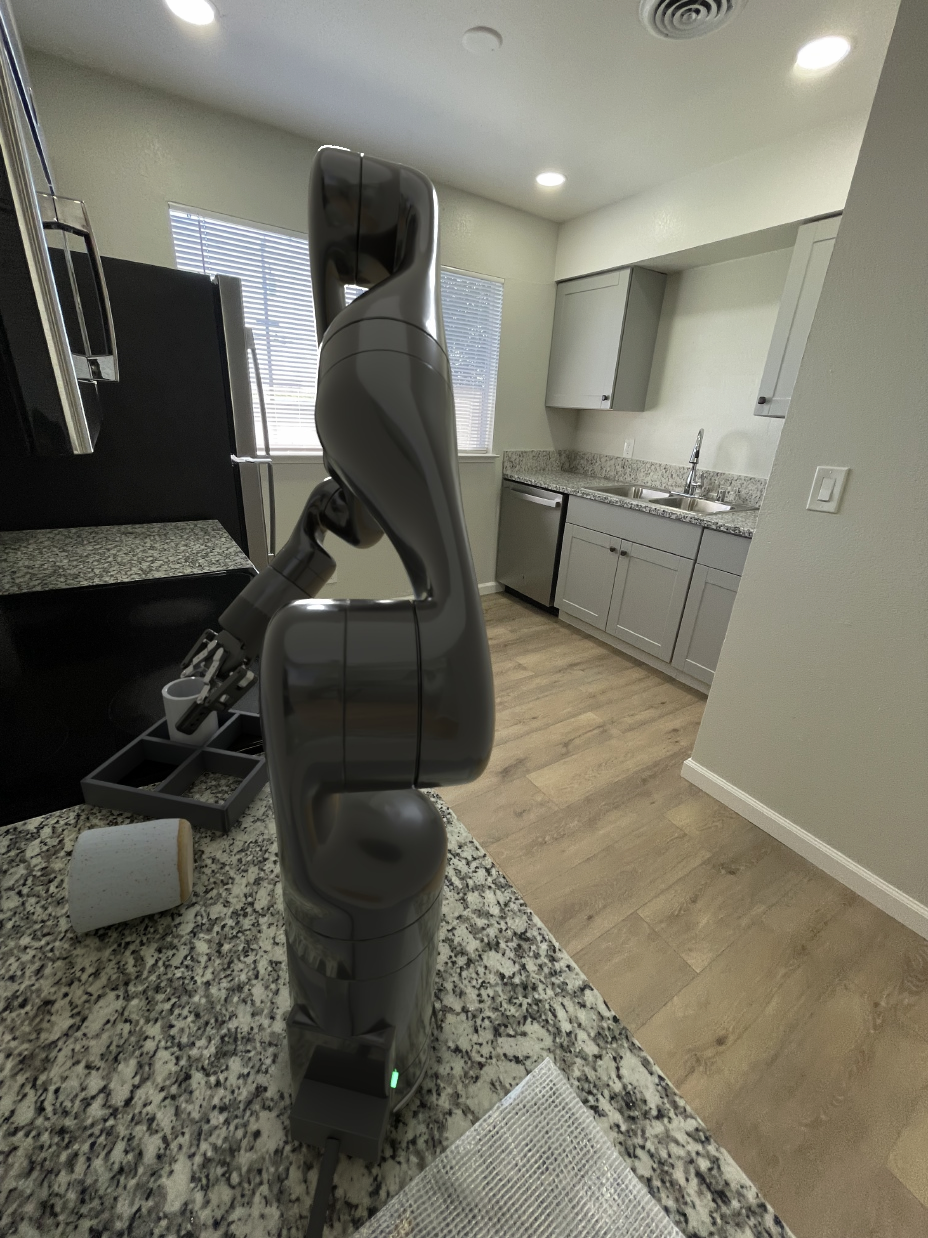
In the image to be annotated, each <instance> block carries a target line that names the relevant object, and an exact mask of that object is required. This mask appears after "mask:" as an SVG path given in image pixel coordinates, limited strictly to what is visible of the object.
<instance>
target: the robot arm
mask: <svg viewBox="0 0 928 1238" xmlns="http://www.w3.org/2000/svg"><path fill="white" fill-rule="evenodd" d="M311 162H312V163H311V166H310V172H309V178H308V186H307V201H306V202H307V203H306V204H307V206H306V211H307V212H306V215H307V216H306V218H307V219H306V223H307V224H306V226H307V227H306V228H307V230H306V231H307V247H308V259H309V260H308V261H309V273H310V274H309V275H310V282H311V284H310V286H311V295H312V307H313V318H314V328H315V338H316V347H317V348H316V349H317V355H318V356H317V365H316V367H317V368H316V380H315V395H314V396H315V397H314V411H313V412H314V414H313V416H314V417H313V419H314V425H315V426H314V427H315V431H316V435H317V439H318V442H319V444H320V446H321V448H322V463H323V467H324V470H325V471H326V473H327V474H328V476H329V477H327V478H325V479H323V480H322V481H320V482H318V484H316V486H315V487H314V488H313V489H312V491H311V492H310V494H309V496H308V498H307V499H306V502H305V505H304V506H303V509H302V511H301V514H300V516H299V518H298V520H297V522H296V525H295V526H294V528H293V530H292V532H291V534H290V536H289V537H288V540H287V542H286V543H285V544H284V545H283V546H282V547H281V548H280V550H278V552H277V553H276V554H275V555H274V556H273V558H272V559H271V560H270V561H269V563H268V564H267V565H265V567H264V568H263V569H262V570H261V571H259V572H258V573H257V574H256V575H255V576H254V577H252V579H251V580H250V581H249V583H248V584H247V585H246V586H245V587H244V588H243V590H242V591H241V592H240V593H239V594H238V595H237V596H236V598H235V599H234V600H233V601H232V602H231V603H230V605H229V606H228V607H227V608H226V609H225V610H224V612H223V613H222V614H221V615H220V616H219V617H218V620H217V621H218V624H219V626H220V627H221V628H222V631H220V632H219V633H216V632H215V631H213V630H212V629H210V628H206V629H205V630H204V631H203V633H202V635H200V636H199V638H198V639H197V641H196V643H194V645H193V647H192V648H191V649H190V651H189V652H188V654H187V655H186V656H185V658H184V659H183V660H182V662H181V663H180V666H179V668H180V669H181V670H183V671H182V672H181V674H180V676H179V677H180V679H182V678H187V677H203V678H204V679H203V683H204V687H203V689H202V691H201V693H200V695H199V696H198V698H197V701H194V702H193V703H192V705H191V706H190V707H189V708H188V709H187V711H186V712H185V713H184V714H183V715H182V717H181V718H180V719H179V720H178V721H177V723H176V724H175V728H176V730H177V731H179V732H181V733H184V734H186V735H192V734H193V733H194V732H195V731H196V730H197V729H198V727H199V726H200V725H201V724H202V723H203V721H204V720H205V719H206V718H207V717H208V715H209V714H210V713H211V712H213V711H217V712H219V713H221V714H225V713H227V712H228V711H229V710H230V709H231V710H232V708H233V707H234V706H235V705H236V704H237V703H238V702H239V701H240V700H241V699H242V698H243V697H244V696H245V695H246V694H247V693H248V692H249V691H250V690H251V689H252V688H253V687H254V686H255V685H256V684H257V706H258V714H259V717H260V725H261V734H262V736H261V742H262V749H263V757H264V756H265V762H266V768H267V774H268V786H269V792H270V797H271V805H272V811H273V819H274V826H275V837H276V845H277V846H276V847H277V857H278V858H277V859H278V865H279V870H280V885H281V892H282V904H283V918H284V919H283V920H284V936H285V948H286V950H285V951H286V963H287V973H288V974H287V976H288V992H289V1003H290V1004H289V1005H290V1011H289V1013H288V1015H287V1018H286V1022H285V1030H286V1042H287V1054H288V1056H287V1057H288V1067H289V1079H290V1091H291V1104H292V1107H291V1109H290V1111H289V1115H288V1119H289V1127H290V1128H289V1131H290V1139H291V1140H292V1141H296V1142H299V1143H303V1144H306V1145H308V1146H309V1145H310V1146H312V1147H313V1146H314V1147H317V1148H321V1149H323V1153H322V1157H321V1162H320V1168H319V1171H318V1176H317V1181H316V1186H315V1190H314V1193H313V1194H314V1195H313V1199H312V1203H311V1208H310V1212H309V1218H308V1223H307V1228H306V1234H305V1238H323V1236H324V1235H323V1234H324V1230H325V1224H326V1220H327V1213H328V1209H329V1203H330V1198H331V1194H332V1189H333V1183H334V1179H335V1174H336V1169H337V1164H338V1159H339V1154H342V1155H346V1156H349V1157H354V1158H356V1159H361V1160H364V1161H368V1162H371V1163H375V1164H379V1161H380V1159H381V1154H382V1149H383V1145H384V1141H385V1139H386V1138H387V1137H388V1135H389V1133H390V1128H391V1124H392V1121H393V1118H394V1117H395V1116H396V1115H398V1114H399V1113H400V1112H401V1111H402V1110H403V1109H404V1108H405V1107H406V1106H407V1105H408V1104H409V1103H410V1101H412V1099H413V1097H414V1096H415V1094H416V1093H417V1092H418V1090H419V1088H420V1086H421V1084H422V1082H423V1079H424V1077H425V1075H426V1072H427V1069H428V1066H429V1062H430V1056H431V1049H432V1048H431V1047H432V1023H433V1022H434V1026H435V1029H436V1031H438V1023H439V1017H438V1015H437V1009H436V1005H435V1001H434V1000H435V987H436V978H437V977H436V976H437V968H438V967H437V966H438V955H439V944H440V933H441V925H442V924H441V923H442V913H443V903H444V894H445V893H444V892H445V882H446V874H447V866H448V865H447V863H448V855H449V838H448V831H447V827H446V824H445V823H446V822H445V820H444V818H443V814H442V813H441V812H440V810H439V809H438V807H437V806H436V804H435V802H434V801H433V800H432V799H431V798H430V797H429V796H428V795H426V793H424V792H423V791H422V790H425V789H427V790H428V789H439V788H450V787H459V786H460V787H461V786H464V785H469V784H471V783H474V782H475V781H477V780H478V779H479V778H480V777H481V776H482V775H483V774H484V772H485V771H486V770H487V768H488V766H489V763H490V760H491V757H492V754H493V753H492V752H493V749H494V744H495V738H496V737H495V736H496V723H497V710H496V709H497V708H496V707H497V706H496V687H495V677H494V670H493V669H494V668H493V662H492V653H491V649H490V643H489V637H488V631H487V625H486V619H485V615H484V614H485V613H484V609H483V604H482V603H483V602H482V599H481V594H480V588H479V583H478V579H477V573H476V569H475V568H476V567H475V564H474V559H473V553H472V548H471V543H470V538H469V532H468V526H467V522H466V516H465V510H464V503H463V494H462V486H461V484H462V483H461V473H460V463H459V462H460V461H459V446H458V445H459V444H458V429H457V427H458V426H457V413H456V401H455V391H454V382H453V375H452V367H451V361H450V355H449V348H448V342H447V335H446V329H445V320H444V313H443V303H442V301H443V300H442V229H441V228H442V227H441V209H440V203H439V198H438V193H437V190H436V187H435V186H434V184H433V182H432V180H431V179H430V178H429V176H428V175H426V173H424V172H422V171H420V170H419V169H418V168H416V167H413V166H411V165H408V164H404V163H399V162H397V161H393V160H389V159H385V158H382V157H379V156H374V155H371V154H366V153H361V152H359V151H355V150H351V149H347V148H343V147H339V146H335V145H334V146H332V145H324V146H321V147H320V148H319V149H318V150H317V152H316V153H315V155H314V157H313V158H312V161H311ZM346 287H351V288H354V287H355V288H356V289H360V290H361V289H362V290H365V291H364V292H362V293H361V294H359V295H358V296H357V297H355V298H354V299H352V300H351V301H350V302H349V303H348V304H347V299H346ZM328 532H330V533H331V534H333V535H334V536H336V537H337V538H338V539H340V540H341V541H343V542H344V543H346V544H347V545H348V546H350V547H352V548H355V549H357V550H368V549H370V548H372V547H375V546H376V545H377V544H378V543H380V542H381V540H382V539H383V538H384V536H385V535H386V537H387V539H388V540H389V542H390V544H391V545H392V547H393V549H394V551H395V553H396V554H397V557H398V559H399V560H400V563H401V564H402V567H403V570H404V573H405V574H406V578H407V580H408V584H409V586H410V589H411V592H412V595H413V599H412V600H410V599H403V598H402V599H399V598H397V599H393V598H392V599H391V598H385V599H384V598H349V599H348V598H316V597H317V595H318V594H319V593H320V592H321V591H322V589H323V588H324V587H325V586H326V584H327V583H328V582H329V581H330V580H331V578H332V577H333V575H334V574H335V573H336V571H337V567H338V565H337V561H336V560H335V558H334V556H332V555H331V553H330V552H329V551H328V550H327V549H326V547H324V542H325V539H326V535H327V533H328ZM258 656H259V657H258ZM257 657H258V658H259V659H258V666H257V674H255V673H254V672H253V671H252V669H251V668H252V666H253V664H254V662H255V660H256V658H257ZM213 688H214V692H213V693H212V694H211V695H210V693H211V691H212V689H213ZM209 695H210V696H209ZM227 696H228V698H227V699H226V697H227ZM161 703H162V705H163V706H164V703H163V700H162V701H161ZM433 1020H434V1021H433Z"/></svg>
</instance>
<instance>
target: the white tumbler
mask: <svg viewBox="0 0 928 1238" xmlns="http://www.w3.org/2000/svg"><path fill="white" fill-rule="evenodd" d="M203 679H204V678H203V677H187V678H177V679H176V680H173V681H171V682H169V683H167V684H166V685H164V687H163V688H162V690H161V696H162V701H163V703H164V705H163V708H164V713H165V716H166V720H167V726H168V732H169V738H170V739H169V740H170V741H176V742H181V743H187V744H192V745H198V746H202V745H203V744H204V743H205V742H206V741H207V740H208V739H209V738H210V737H211V736H212V735H214V734H215V733H216V732H217V731H218V730H219V728H218V720H217V712H216V711H213V712H211V713H210V714H209V715H208V717H207V718H206V719H205V720H204V721H203V723H202V724H201V725H200V726H199V727H198V729H197V730H196V731H195V732H194V733H193V734H192V735H186V734H184V733H181V732H179V731H177V730H176V728H175V724H176V723H177V721H178V720H179V719H180V718H181V717H182V715H183V714H184V713H185V712H186V711H187V709H188V708H189V707H190V706H191V705H192V703H193V702H194V701H197V698H198V696H199V695H200V693H201V691H202V689H203V687H204V683H203ZM214 691H215V689H214V688H213V689H212V691H211V693H210V695H211V694H212V693H213V692H214ZM210 695H209V696H210ZM163 703H162V704H163Z"/></svg>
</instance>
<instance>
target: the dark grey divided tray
mask: <svg viewBox="0 0 928 1238" xmlns="http://www.w3.org/2000/svg"><path fill="white" fill-rule="evenodd" d="M216 712H217V711H216ZM217 720H218V728H219V730H218V731H217V732H216V733H215V734H214V735H212V736H211V737H210V738H209V739H208V740H207V741H206V742H205V743H204V744H203V745H202V746H198V745H192V744H187V743H181V742H176V741H170V738H169V732H168V726H167V720H166V715H164V716H163V717H162V718H161V719H159V720H158V721H156V723H154V724H152V726H150V727H149V728H147V729H146V730H145V731H144V732H142V733H141V734H140V735H139V736H138V737H136V738H135V739H134V740H132V741H131V742H130V743H128V744H127V745H125V747H123V748H122V749H120V750H119V751H118V752H116V753H115V754H114V755H113V756H111V757H109V758H108V759H107V760H106V761H105V762H103V763H102V764H101V765H99V766H98V767H96V769H94V770H93V771H92V772H91V773H89V774H88V775H87V776H85V777H83V778H82V779H81V780H80V781H79V783H80V787H81V790H82V794H83V799H84V802H85V804H86V805H90V806H96V807H99V808H106V809H110V810H114V811H120V812H124V813H131V814H134V815H138V816H139V815H140V816H144V817H150V818H154V819H157V820H160V819H185V820H187V821H188V822H189V823H190V825H191V826H192V827H193V826H194V827H199V828H203V829H208V830H212V831H218V832H223V833H228V832H229V831H230V830H231V829H232V828H233V826H234V825H235V824H236V823H237V821H238V820H239V818H240V817H241V816H242V815H243V813H245V811H246V810H247V809H248V807H249V806H250V805H251V803H252V802H253V801H254V800H255V798H256V797H257V795H258V794H259V793H260V792H261V791H262V789H263V788H264V787H265V786H266V784H267V783H269V780H268V774H267V768H266V762H265V756H264V755H263V757H262V756H257V755H251V754H246V753H241V752H235V751H230V750H227V749H228V748H229V747H230V746H231V745H232V744H233V743H234V742H235V741H236V740H237V739H238V738H239V737H240V736H241V735H242V734H246V735H247V734H248V735H253V736H259V737H262V734H261V725H260V717H259V713H254V712H247V711H242V710H236V709H232V708H231V709H230V710H229V711H228V712H227V713H225V714H221V713H219V712H217ZM145 760H146V761H152V762H157V763H162V764H163V763H164V764H168V765H173V766H178V767H177V768H176V769H174V771H172V772H171V773H170V774H169V775H168V776H167V777H166V778H165V779H164V780H163V781H162V782H161V783H159V785H157V786H156V787H155V788H154V789H153V790H148V789H143V788H138V787H133V786H128V785H122V784H117V783H119V782H120V781H121V780H122V779H124V778H125V777H126V776H127V775H129V773H131V772H132V771H133V770H134V769H135V768H136V767H138V766H139V765H141V764H142V763H143V762H144V761H145ZM205 771H206V772H209V773H210V772H211V773H216V774H221V775H226V776H233V777H236V778H243V780H242V781H241V783H240V784H239V785H238V786H237V787H236V788H235V790H233V792H232V793H231V794H230V796H229V797H228V798H227V799H226V800H225V801H224V802H223V804H219V803H214V802H209V801H204V800H198V799H194V798H190V797H185V796H184V797H183V796H181V795H183V794H184V792H186V791H187V790H188V789H189V788H190V786H191V785H193V784H194V783H195V781H197V779H198V778H199V777H200V776H201V775H202V774H203V773H204V772H205Z"/></svg>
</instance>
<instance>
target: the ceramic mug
mask: <svg viewBox="0 0 928 1238" xmlns="http://www.w3.org/2000/svg"><path fill="white" fill-rule="evenodd" d="M193 843H194V842H193V830H192V825H190V823H189V822H188V821H187V820H185V819H155V820H148V821H143V822H137V823H130V824H129V823H128V824H121V825H115V826H114V825H113V826H106V827H99V828H91V829H87V830H83V831H82V832H81V833H80V834H79V836H78V837H77V838H76V842H75V843H74V846H73V850H72V854H71V858H70V862H69V867H68V875H67V904H68V905H67V906H68V908H67V909H68V914H69V919H70V924H71V927H72V928H73V930H74V931H75V932H76V933H78V934H79V933H80V934H81V933H86V932H87V933H88V932H90V931H93V930H96V929H97V930H98V929H100V928H104V927H108V926H111V925H116V924H118V923H123V922H126V921H130V920H132V919H136V918H140V917H144V916H147V915H152V914H157V913H160V912H163V911H167V910H170V909H173V908H175V907H177V906H180V905H181V904H184V903H185V902H186V901H187V900H188V899H189V898H190V897H191V895H192V892H193V886H194V884H193V883H194V844H193Z"/></svg>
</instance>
